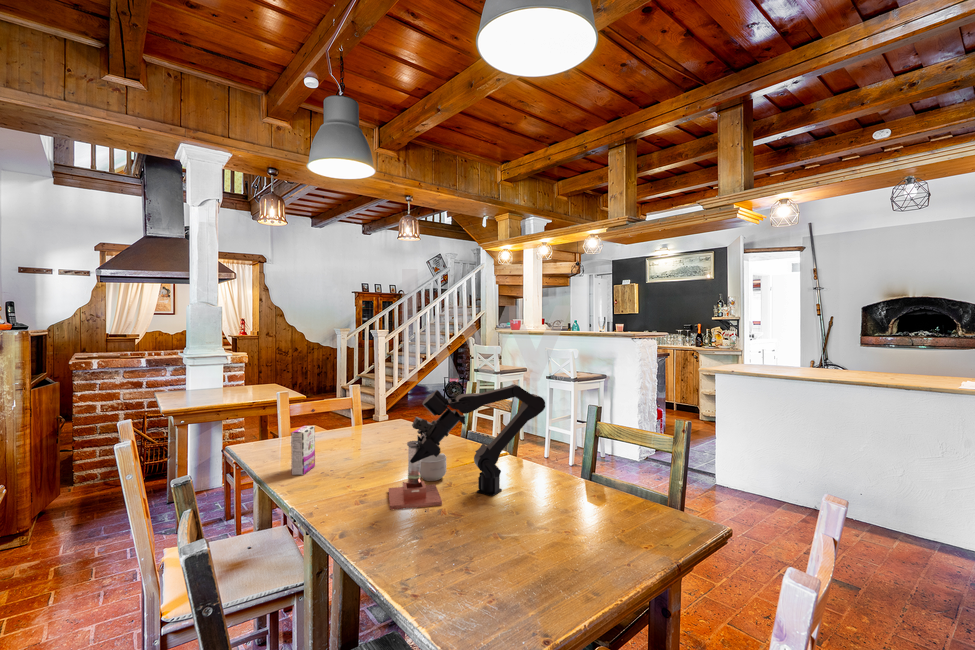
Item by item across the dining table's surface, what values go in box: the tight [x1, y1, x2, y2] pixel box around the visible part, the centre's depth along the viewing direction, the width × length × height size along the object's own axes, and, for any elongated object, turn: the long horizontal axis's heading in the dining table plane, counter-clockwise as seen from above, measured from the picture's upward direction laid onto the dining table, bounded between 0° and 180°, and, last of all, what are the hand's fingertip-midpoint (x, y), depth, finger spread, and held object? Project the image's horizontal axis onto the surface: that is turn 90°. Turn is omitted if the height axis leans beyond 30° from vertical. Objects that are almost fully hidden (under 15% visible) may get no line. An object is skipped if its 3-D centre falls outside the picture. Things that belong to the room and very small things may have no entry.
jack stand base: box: [388, 480, 443, 511], centre depth 148 cm, size 16×16×4 cm
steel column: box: [406, 440, 422, 484], centre depth 149 cm, size 5×5×13 cm
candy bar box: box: [290, 425, 316, 476], centre depth 176 cm, size 11×5×16 cm, turn 179°
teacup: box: [421, 452, 447, 482], centre depth 169 cm, size 14×11×8 cm
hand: (410, 460), depth 148 cm, fingers closed on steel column, 4 cm apart
